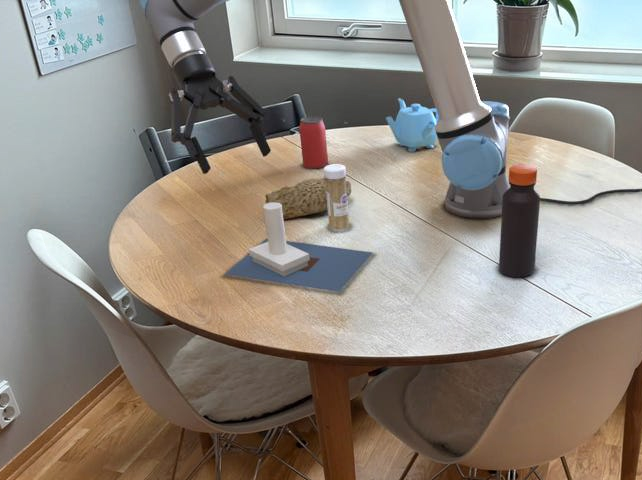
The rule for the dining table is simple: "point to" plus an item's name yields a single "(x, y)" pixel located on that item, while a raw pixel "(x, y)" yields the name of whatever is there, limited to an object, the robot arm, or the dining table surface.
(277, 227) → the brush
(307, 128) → the beer can
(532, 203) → the vinegar
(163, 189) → the dining table surface
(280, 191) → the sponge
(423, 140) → the teapot
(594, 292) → the dining table surface
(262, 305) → the dining table surface
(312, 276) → the mat
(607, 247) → the dining table surface
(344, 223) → the sprinkles bottle
